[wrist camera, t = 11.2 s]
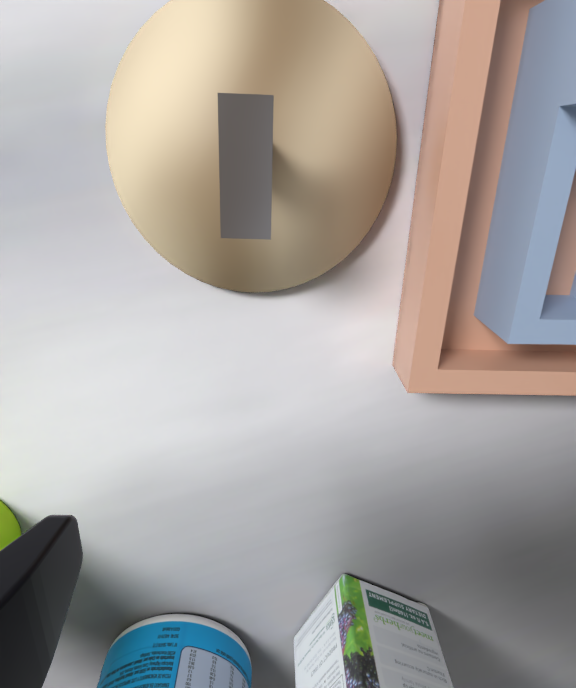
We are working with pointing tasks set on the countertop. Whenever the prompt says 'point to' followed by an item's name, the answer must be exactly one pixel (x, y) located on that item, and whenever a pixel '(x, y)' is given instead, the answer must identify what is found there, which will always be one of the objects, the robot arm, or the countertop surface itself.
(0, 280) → the countertop surface
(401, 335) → the tray
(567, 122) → the blue open frame block
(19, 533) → the soap dispenser
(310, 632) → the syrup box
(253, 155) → the pot lid
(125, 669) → the blue lidded jar
